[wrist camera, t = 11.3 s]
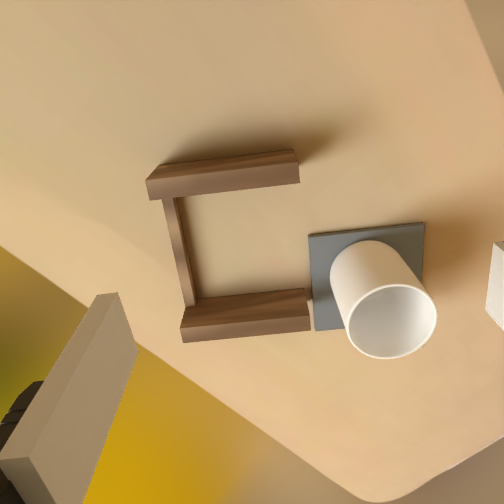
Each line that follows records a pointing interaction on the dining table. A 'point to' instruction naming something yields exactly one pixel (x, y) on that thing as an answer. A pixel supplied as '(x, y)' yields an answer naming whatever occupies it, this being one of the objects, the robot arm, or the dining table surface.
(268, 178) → the frame
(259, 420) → the dining table surface
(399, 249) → the coaster
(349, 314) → the mug
